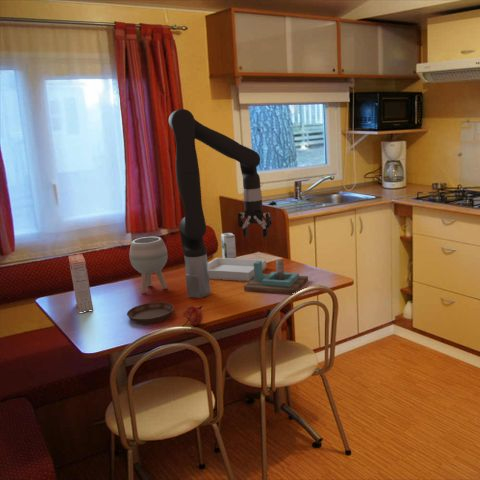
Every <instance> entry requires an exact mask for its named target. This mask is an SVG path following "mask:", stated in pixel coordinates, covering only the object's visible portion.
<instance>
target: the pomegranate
mask: <svg viewBox="0 0 480 480" xmlns="http://www.w3.org/2000/svg"><path fill="white" fill-rule="evenodd" d="M203 308H204V306H203V305H200V306H199V307H197V306H195V305H192V306H191V305H189V306H187V307H186V308H185V310H184V311H183V313H182V316H183V317H185V319H187V321H185V323H184V324H183V325H182V327H185V325H186V324H188V322H189V323H191V324H192V325H193V326H194V327H195V326H199V325H200V324H202V323H201V322H202V321H203V318H204V314H203V312H202V310H201V309H203Z"/></svg>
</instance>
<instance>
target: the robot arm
mask: <svg viewBox="0 0 480 480" xmlns="http://www.w3.org/2000/svg"><path fill="white" fill-rule="evenodd" d="M168 124H169V127H170V129H171V130H172V131H173V135H174V139H175V145H176V152H175V154H176V155H175V176H176V177H175V178H176V184H177V189H178V193H179V195H180V198H181V201H182V204H183V207H184V208H183V211H184V217H183V218H182V219H181V221H180V222H179V223H180V224H179V232H180V234H179V235H180V241H181V247H182V250H183V257H184V265H185V266H184V267H185V282H186V293H187V298H196V299H202V298H204V297H207V296H210V294H211V285H210V279H209V273H208V263H209V262H208V254H207V253H208V251H207V246H206V244H205V242H204V236H205V235H206V231H207V224H206V218H205V215H204V209H203V204H202V203H203V201H202V200H203V199H202V188H201V177H200V176H201V175H200V168H199V159H198V154H197V150H196V140H198V141H199V142H201V143H202V144H204V145H206V146H208V147H210V148H211V149H212V150H214V151H216V152H218V153H219V154H221V155H223V156H226V157H227V158H229V159H232V160H235V161H237V162H238V163H239V167H240V172H241V175H242V184H243V185H242V187H243V191H242V193H243V194H242V195H243V206H244V212H242V211H241V212H238V213H237V221H238V222H237V223H238V224H237V226H238V227H239V228H242V234H243V236H244V237H245V238H248V237H249V228H248V226H249V224H258V225H260V226H261V227H262V236H263V237H262V238H265V239H266V238H267V237H268V235H269V231H268V230H269V229H268V228H271V227H272V226H273V225H272V216H271V212H270V211H269V212H264V210H263V194H262V189H261V177H260V175H259V174H258V170H257V167H258V166H259V165H260V163H261V156H260V154H259V153H258V152H257V151H255V150H253V149H252V148H249V147H247V146H245V145H243V144H240V143H239V142H237V141H236V140H234V139H232V138H230V137H229V136H227V135H225V134H223V133H221V132H219V131H217V130H215V129H212V128H211V127H208V126H205V125H204V124H202V123H201V122H199V121H198V120H197V119H195V116H194V114H193V113H192V112H191V111H190V110H188V109H186V108H185V109H184V108H180V109H176V110H174V111H172V112H171V113H170V115H169V117H168ZM244 217H245V219H246V220H245V221H244ZM264 218H265V219H264Z"/></svg>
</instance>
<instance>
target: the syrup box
mask: <svg viewBox="0 0 480 480" xmlns="http://www.w3.org/2000/svg"><path fill="white" fill-rule="evenodd" d="M220 239H221V251H222V253H221V254H222V255H221V256H222V258H234V259H237V251H236V250H237V249H236V236H235V234H233V233H232V232H224V233H221V234H220Z"/></svg>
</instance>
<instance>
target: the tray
mask: <svg viewBox="0 0 480 480" xmlns="http://www.w3.org/2000/svg"><path fill="white" fill-rule="evenodd" d="M256 261H262V272H264V271H265V270H266V269H267V260H266V259H250V258H236V259H234V258H223V257H215V258H213V259H212V260H210V261H209V262H208V273H209V280H210V279H211V280H221V279H222V280H224V281H236V280H237V281H238V282H250V281H251V280H253V279H254V278H255V275H254V263H255V262H256Z"/></svg>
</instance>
